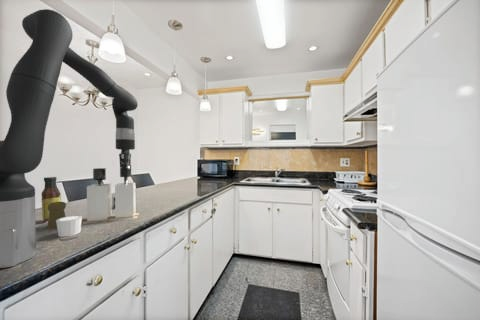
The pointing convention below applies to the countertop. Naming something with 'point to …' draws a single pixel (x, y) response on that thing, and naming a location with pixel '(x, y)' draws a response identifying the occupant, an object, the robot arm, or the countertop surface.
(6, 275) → the countertop surface
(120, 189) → the jar right
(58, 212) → the cork
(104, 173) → the plunger left
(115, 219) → the stand
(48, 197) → the sauce bottle
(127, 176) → the plunger right
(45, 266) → the countertop surface
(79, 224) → the white ramekin
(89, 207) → the jar left
